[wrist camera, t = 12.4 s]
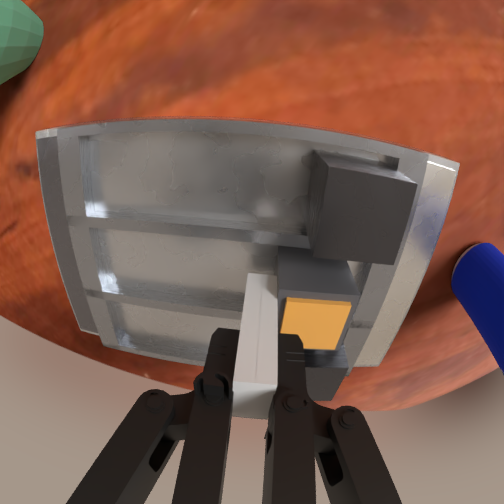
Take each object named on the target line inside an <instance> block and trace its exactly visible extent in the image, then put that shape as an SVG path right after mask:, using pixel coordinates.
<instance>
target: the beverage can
mask: <svg viewBox="0 0 504 504" xmlns="http://www.w3.org/2000/svg"><path fill="white" fill-rule="evenodd" d="M451 286H452V291H453V293H454V294H455V296H456V297H457V299H458V300H459V302H460V303H461V304H462V306H463V307H464V309H465V310H466V312H467V313H468V315H469V316H470V318H471V319H472V321H473V323H474V324H475V326H476V327H477V329H478V331H479V332H480V334H481V335H482V337H483V339H484V340H485V342H486V344H487V345H488V347H489V349H490V351H491V352H492V354H493V356H494V358H495V360H496V361H497V363H498V365H499V367H500V369H501V371H502V373H503V375H504V255H503V254H502V253H501V252H500V251H499V250H498V249H497V248H496V247H495V246H493V245H492V244H490V243H479V244H475V245H473V246H471V247H470V248H468V249H467V250H466V251H465V252H464V253H463V254H462V255H461V256H460V257H459V259H458V261H457V262H456V264H455V266H454V269H453V273H452V282H451Z"/></svg>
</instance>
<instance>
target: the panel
mask: <svg viewBox="0 0 504 504" xmlns="http://www.w3.org/2000/svg"><path fill="white" fill-rule="evenodd" d="M36 146H37V158H38V167H39V176H40V183H41V190H42V196H43V202H44V208H45V213H46V218H47V223H48V227H49V232H50V236H51V240H52V244H53V248H54V252H55V256H56V260H57V263H58V267H59V270H60V273H61V277H62V280H63V283H64V286H65V289H66V292H67V295H68V298H69V301H70V304H71V307H72V309H73V312H74V315H75V317H76V320H77V322H78V325H79V327H80V330H81V331H84V332H88V333H91V334H95V335H99V336H100V338H101V341H102V343H103V346H106V347H110V348H113V349H118V350H122V351H126V352H130V353H135V354H139V355H144V356H148V357H153V358H158V359H163V360H169V361H174V362H180V363H186V364H192V365H199V366H204V365H205V361H206V357H207V353H208V348H209V344H210V340H211V336H212V334H213V333H214V332H215V331H216V329H217V328H218V327H219V328H227V329H236V330H240V327H241V320H242V313H243V305H244V298H245V291H246V284H247V277H248V273H254V274H264V275H274V270H275V263H276V256H277V249H278V246H286V247H296V248H306V249H311V252H312V257H316V258H325V259H335V260H345V261H347V262H348V265H349V267H350V270H351V272H352V275H353V277H354V280H355V283H356V285H357V288H358V290H359V293H360V299H359V301H358V304H357V307H356V309H355V312H354V315H353V317H352V320H351V322H350V325H349V327H348V330H347V332H346V335H345V337H344V340H343V342H342V344H341V347H340V349H339V351H337V350H310V349H304V358H305V361H304V362H305V371H306V385H307V392H308V395H309V397H310V398H311V399H312V400H313V401H331V400H332V398H333V397H334V395H335V393H336V391H337V390H338V388H339V386H340V384H341V382H342V380H343V379H344V377H345V376H349V374H350V372H351V370H352V368H353V367H368V366H379V364H380V363H381V361H382V359H383V358H384V356H385V354H386V352H387V351H388V349H389V347H390V345H391V344H392V342H393V340H394V338H395V336H396V334H397V332H398V330H399V329H400V327H401V325H402V323H403V321H404V319H405V317H406V315H407V313H408V311H409V308H410V306H411V304H412V302H413V300H414V298H415V296H416V293H417V291H418V289H419V287H420V284H421V282H422V280H423V277H424V275H425V272H426V270H427V268H428V265H429V263H430V260H431V257H432V255H433V252H434V249H435V247H436V244H437V241H438V238H439V235H440V233H441V230H442V227H443V224H444V220H445V217H446V214H447V211H448V207H449V204H450V201H451V197H452V193H453V190H454V186H455V182H456V178H457V174H458V169H459V165H460V163H457V162H455V161H453V160H451V159H449V158H446V157H443V156H440V155H437V154H434V153H431V152H428V151H424V150H421V149H417V148H414V147H410V146H407V145H403V144H399V143H395V142H391V141H387V140H383V139H379V138H375V137H370V136H366V135H361V134H356V133H351V132H346V131H341V130H335V129H330V128H324V127H317V126H311V125H304V124H296V123H289V122H280V121H270V120H260V119H247V118H232V117H207V116H162V117H139V118H124V119H112V120H102V121H93V122H84V123H77V124H70V125H64V126H58V127H52V128H47V129H44V130H40V131H37V132H36Z"/></svg>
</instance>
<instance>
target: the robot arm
mask: <svg viewBox="0 0 504 504" xmlns="http://www.w3.org/2000/svg"><path fill="white" fill-rule="evenodd" d="M304 361H305V358H304V347H303V342H302V340H301V339H300V337H299V335H298V334H285V333H278V305H277V276H274V275H264V274H254V273H248V277H247V284H246V291H245V298H244V305H243V313H242V320H241V327H240V330H236V329H227V328H219V327H218V328H217V329H216V331H215V332H214V333H213V334H212V336H211V340H210V344H209V348H208V353H207V357H206V361H205V365H204V370H203V372H202V373H200V374H199V375H198V376H197V377H196V378H195V380H194V382H193V384H194V390H193V391H191V392H189V393H186V394H180V395H169V394H168V393H166V392H165V391H163V390H158V389H153V390H148V391H146V392H144V393H143V394H142V395H141V396H140V397H139V398H138V400H137V401H136V402H135V404H134V405H133V407H132V408H131V410H130V411H129V413H128V414H127V416H126V417H125V419H124V420H123V421H122V423H121V424H120V425H119V427H118V428H117V430H116V431H115V433H114V434H113V436H112V437H111V439H110V440H109V442H108V443H107V444H106V446H105V447H104V449H103V450H102V452H101V453H100V454H99V456H98V457H97V459H96V460H95V462H94V463H93V465H92V466H91V468H90V469H89V470H88V472H87V473H86V475H85V477H84V478H83V479H82V481H81V482H80V484H79V485H78V487H77V488H76V490H75V491H74V493H73V494H72V496H71V497H70V498H69V500H68V501H67V503H66V504H144V503H145V501H146V499H147V497H148V495H149V494H150V492H151V490H152V489H153V487H154V485H155V483H156V482H157V480H158V478H159V476H160V474H161V473H162V471H163V469H164V467H165V466H166V464H167V462H168V460H169V459H170V457H171V455H172V453H173V451H174V450H175V448H176V446H177V444H178V442H179V440H185V442H184V446H183V451H182V456H181V461H180V466H179V470H178V475H177V480H176V485H175V489H174V494H173V499H172V504H221V500H222V492H223V483H224V476H225V468H226V459H227V451H228V444H229V436H230V427H231V418H232V416H235V417H244V418H254V419H268V428H267V431H266V434H265V437H264V439H266V448H265V466H264V467H265V468H264V483H263V499H262V504H316V485H315V458H316V461H317V464H318V467H319V470H320V473H321V476H322V479H323V482H324V485H325V488H326V491H327V494H328V497H329V500H330V503H331V504H402V503H401V500H400V498H399V495H398V493H397V490H396V488H395V486H394V483H393V481H392V479H391V476H390V474H389V471H388V469H387V467H386V465H385V462H384V460H383V458H382V455H381V453H380V451H379V449H378V447H377V444H376V442H375V440H374V437H373V435H372V433H371V431H370V428H369V426H368V424H367V422H366V420H365V418H364V416H363V414H362V413H361V411H360V410H358V409H357V408H355V407H352V406H341V407H339V408H337V409H336V410H334V409H330V408H327V407H323V406H321V405H318V404H317V403H315V402H314V401H313V400H312V399H311V398H310V397H309V395H308V392H307V385H306V371H305V362H304Z"/></svg>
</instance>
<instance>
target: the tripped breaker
mask: <svg viewBox="0 0 504 504" xmlns="http://www.w3.org/2000/svg"><path fill="white" fill-rule="evenodd" d="M274 276H277V305H278V333H285V334H298V335H299V337H300V339H301V340H302V342H303V347H304V349H310V350H337V351H339V349H340V347H341V344H342V342H343V340H344V337H345V335H346V332H347V330H348V327H349V325H350V322H351V320H352V317H353V315H354V312H355V309H356V307H357V304H358V301H359V299H360V293H359V290H358V288H357V285H356V283H355V280H354V277H353V275H352V272H351V270H350V267H349V265H348V262H347V261H345V260H335V259H325V258H316V257H312V252H311V249H306V248H296V247H286V246H278V249H277V256H276V263H275V270H274Z"/></svg>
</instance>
